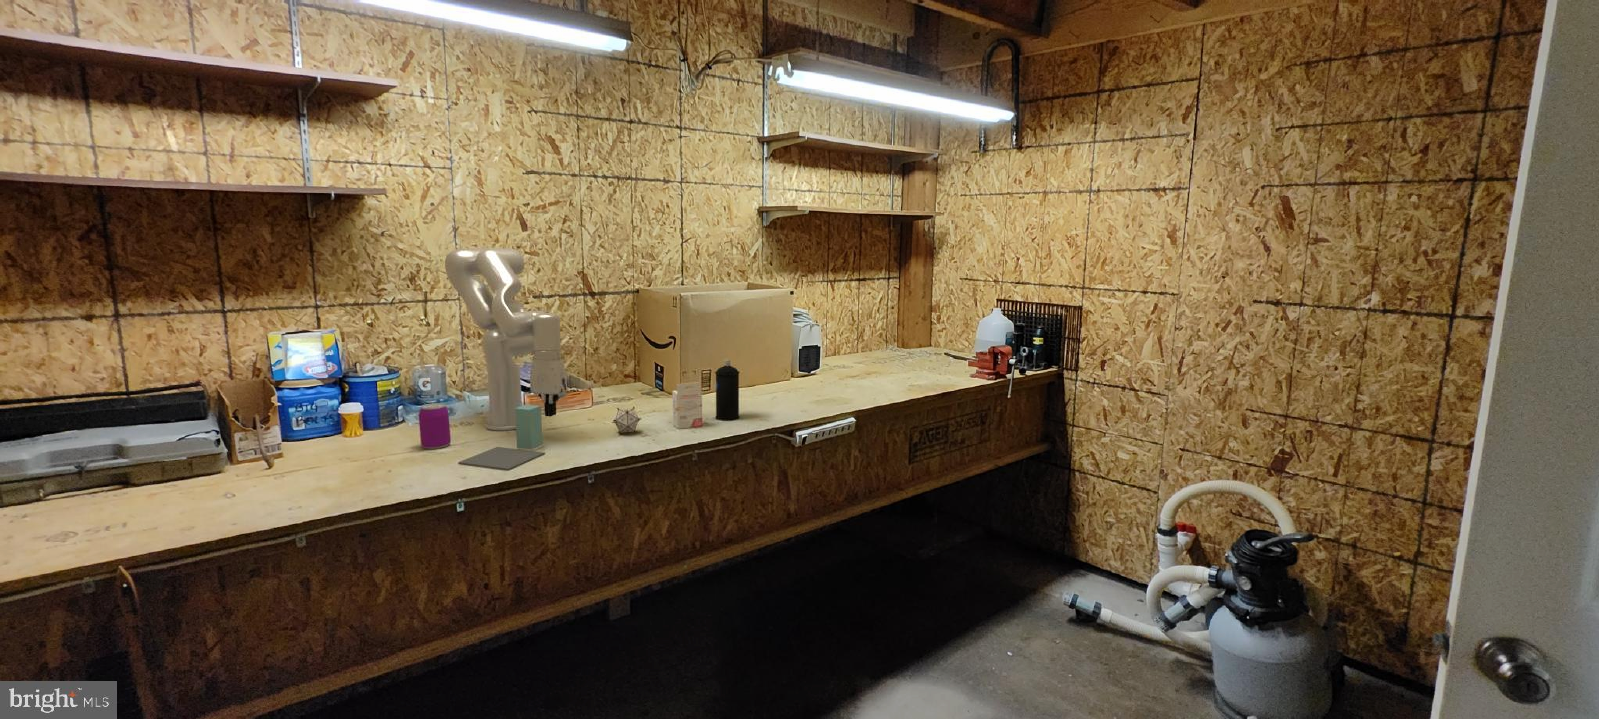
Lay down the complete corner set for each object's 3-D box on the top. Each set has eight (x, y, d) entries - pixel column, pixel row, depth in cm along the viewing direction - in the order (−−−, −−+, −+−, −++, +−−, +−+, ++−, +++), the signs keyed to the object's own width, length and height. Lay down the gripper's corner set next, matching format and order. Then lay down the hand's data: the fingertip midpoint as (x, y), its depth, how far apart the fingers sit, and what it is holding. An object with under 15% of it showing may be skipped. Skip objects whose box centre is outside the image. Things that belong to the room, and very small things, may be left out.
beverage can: (445, 440, 211) (442, 401, 209) (454, 446, 206) (452, 405, 204) (417, 445, 206) (414, 405, 204) (426, 451, 200) (423, 410, 198)
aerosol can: (744, 417, 243) (744, 359, 240) (729, 422, 236) (729, 363, 233) (725, 413, 248) (725, 357, 244) (710, 418, 241) (709, 360, 237)
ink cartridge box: (697, 422, 235) (697, 379, 233) (702, 426, 231) (702, 381, 228) (672, 425, 231) (671, 381, 229) (677, 429, 227) (676, 384, 225)
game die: (630, 445, 221) (631, 426, 214) (606, 434, 222) (606, 414, 215) (645, 426, 228) (646, 406, 221) (621, 415, 229) (622, 395, 222)
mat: (458, 463, 190) (458, 462, 190) (497, 448, 204) (497, 446, 204) (508, 470, 186) (508, 468, 185) (544, 454, 200) (544, 452, 200)
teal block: (517, 448, 204) (514, 408, 202) (528, 444, 209) (526, 404, 207) (531, 450, 203) (529, 409, 201) (543, 445, 207) (541, 405, 205)
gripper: (518, 355, 209) (521, 416, 212) (561, 358, 205) (564, 420, 208) (534, 351, 216) (537, 410, 220) (577, 354, 212) (579, 414, 215)
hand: (550, 415), depth 214 cm, fingers closed
